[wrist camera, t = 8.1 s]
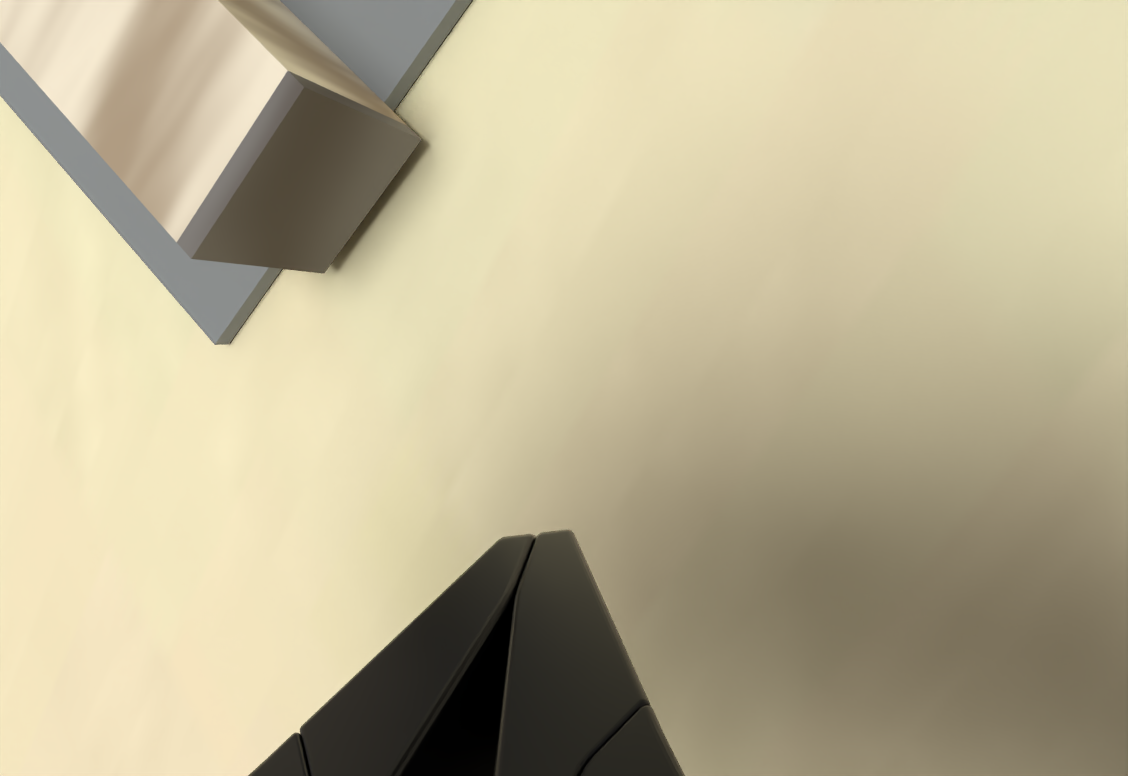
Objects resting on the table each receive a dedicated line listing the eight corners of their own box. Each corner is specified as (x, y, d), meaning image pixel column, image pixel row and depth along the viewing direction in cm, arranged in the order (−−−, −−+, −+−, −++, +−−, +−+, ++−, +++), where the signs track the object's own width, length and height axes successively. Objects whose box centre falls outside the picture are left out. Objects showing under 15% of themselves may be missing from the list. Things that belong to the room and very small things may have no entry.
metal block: (304, 87, 17) (55, -164, 19) (191, 258, 19) (-30, 8, 21) (421, 139, 22) (211, -67, 24) (323, 273, 23) (133, 68, 25)
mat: (490, -25, 21) (479, -35, 21) (228, 344, 26) (214, 344, 25) (192, -290, 24) (176, -304, 24) (0, 80, 28) (-18, 75, 28)
